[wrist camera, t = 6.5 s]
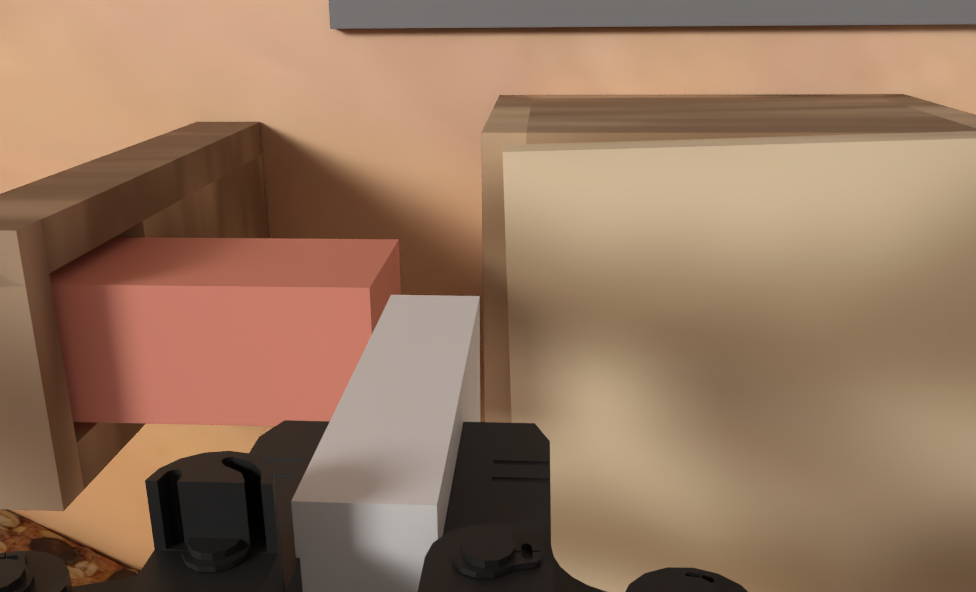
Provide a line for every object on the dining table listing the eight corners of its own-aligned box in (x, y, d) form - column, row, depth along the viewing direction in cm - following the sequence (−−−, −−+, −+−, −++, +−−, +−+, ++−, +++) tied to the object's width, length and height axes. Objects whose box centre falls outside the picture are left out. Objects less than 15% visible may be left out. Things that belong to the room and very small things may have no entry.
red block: (-300, 234, 21) (-457, 278, 18) (398, 239, 20) (369, 287, 17) (-268, 349, 22) (-412, 412, 19) (403, 359, 21) (376, 427, 18)
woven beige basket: (194, 96, 29) (-107, 183, 16) (903, 94, 28) (1233, 188, 14) (250, 635, 35) (68, 1026, 22) (832, 655, 34) (1016, 1084, 21)
